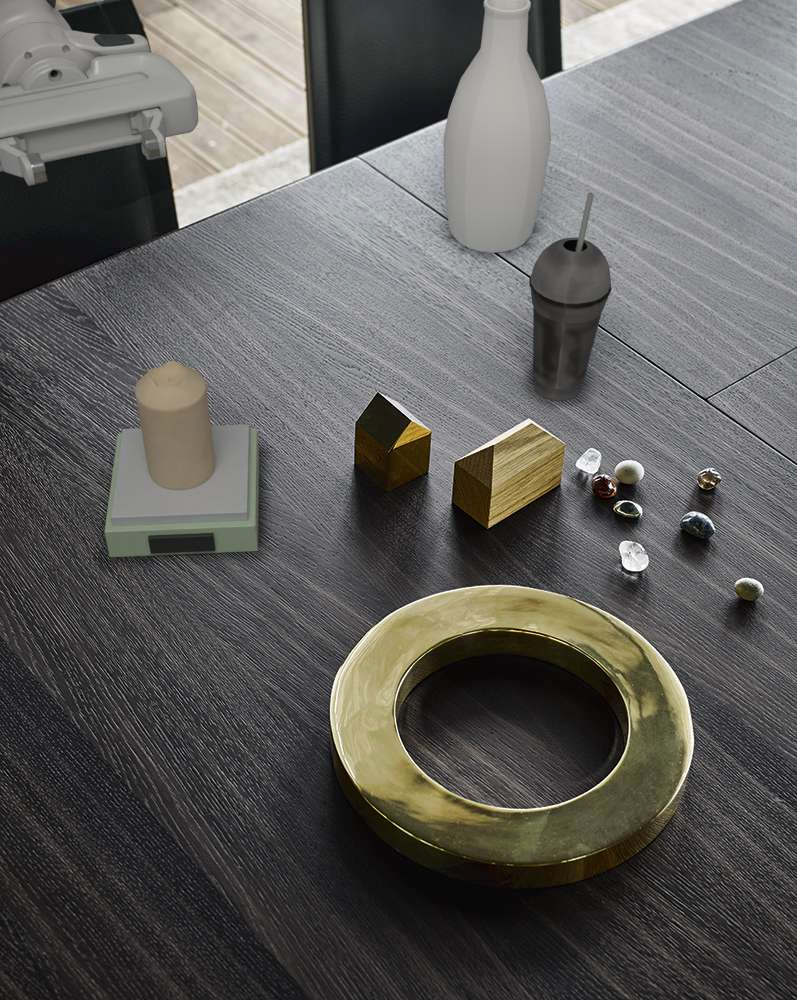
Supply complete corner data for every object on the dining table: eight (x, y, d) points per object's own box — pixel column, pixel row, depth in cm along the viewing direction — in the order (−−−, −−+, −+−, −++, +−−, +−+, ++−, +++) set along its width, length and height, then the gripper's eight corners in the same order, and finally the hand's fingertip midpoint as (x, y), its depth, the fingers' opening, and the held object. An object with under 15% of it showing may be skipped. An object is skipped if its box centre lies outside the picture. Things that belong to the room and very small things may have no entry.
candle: (140, 487, 102) (123, 391, 95) (158, 443, 106) (142, 348, 99) (207, 493, 102) (194, 398, 95) (222, 448, 106) (211, 353, 99)
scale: (109, 560, 102) (101, 526, 99) (122, 458, 110) (115, 424, 108) (257, 554, 102) (254, 520, 100) (259, 453, 111) (256, 419, 108)
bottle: (538, 206, 142) (561, -21, 124) (544, 261, 134) (570, 27, 116) (439, 204, 142) (448, -23, 124) (439, 259, 134) (449, 24, 116)
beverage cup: (502, 383, 119) (519, 195, 105) (555, 352, 122) (578, 167, 108) (558, 420, 115) (584, 231, 101) (611, 388, 118) (643, 200, 104)
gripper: (-87, 74, 99) (-49, 152, 91) (160, 30, 106) (218, 99, 97) (-68, 147, 104) (-31, 228, 95) (168, 100, 111) (224, 172, 102)
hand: (97, 162), depth 96 cm, fingers open, 8 cm apart
